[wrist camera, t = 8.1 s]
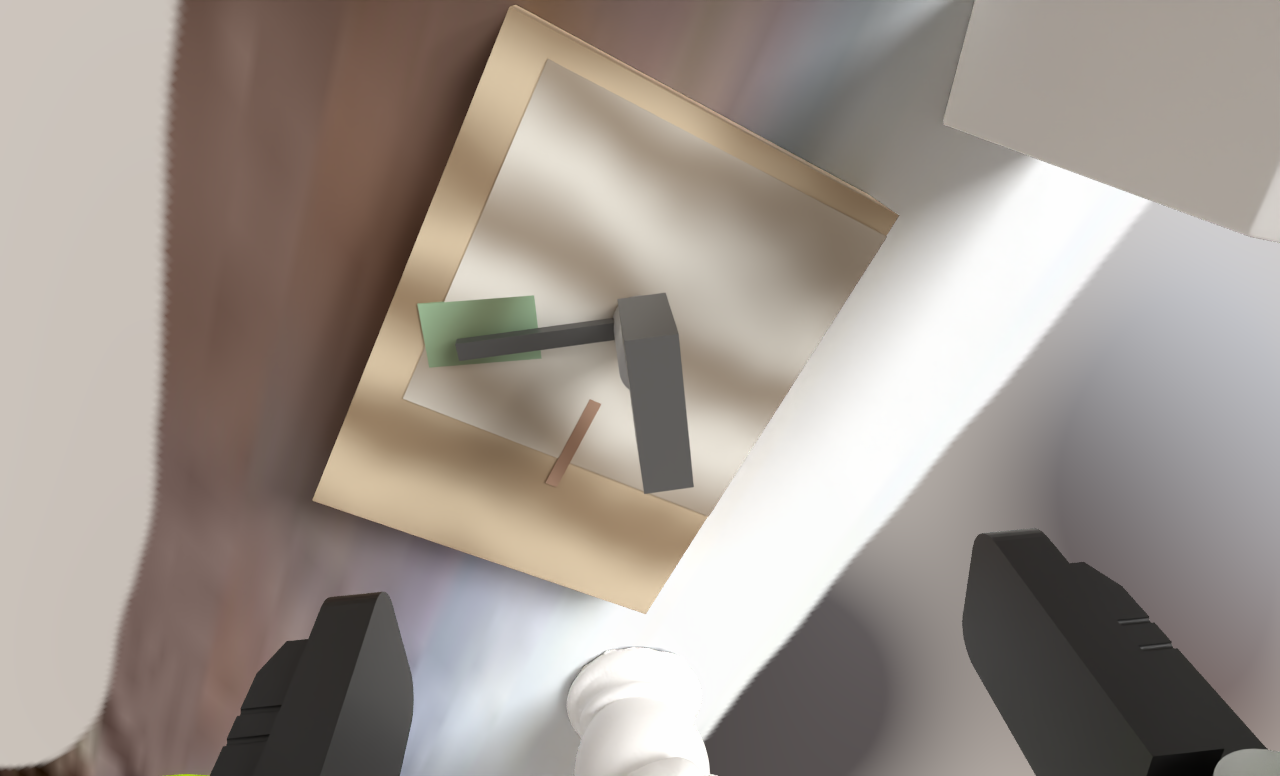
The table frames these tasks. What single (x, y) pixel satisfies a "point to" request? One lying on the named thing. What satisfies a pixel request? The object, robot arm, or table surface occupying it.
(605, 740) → the cherub figurine
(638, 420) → the lever
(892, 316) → the table surface
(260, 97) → the table surface
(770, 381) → the dial board
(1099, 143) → the milk
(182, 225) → the table surface
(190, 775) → the toy cauldron
